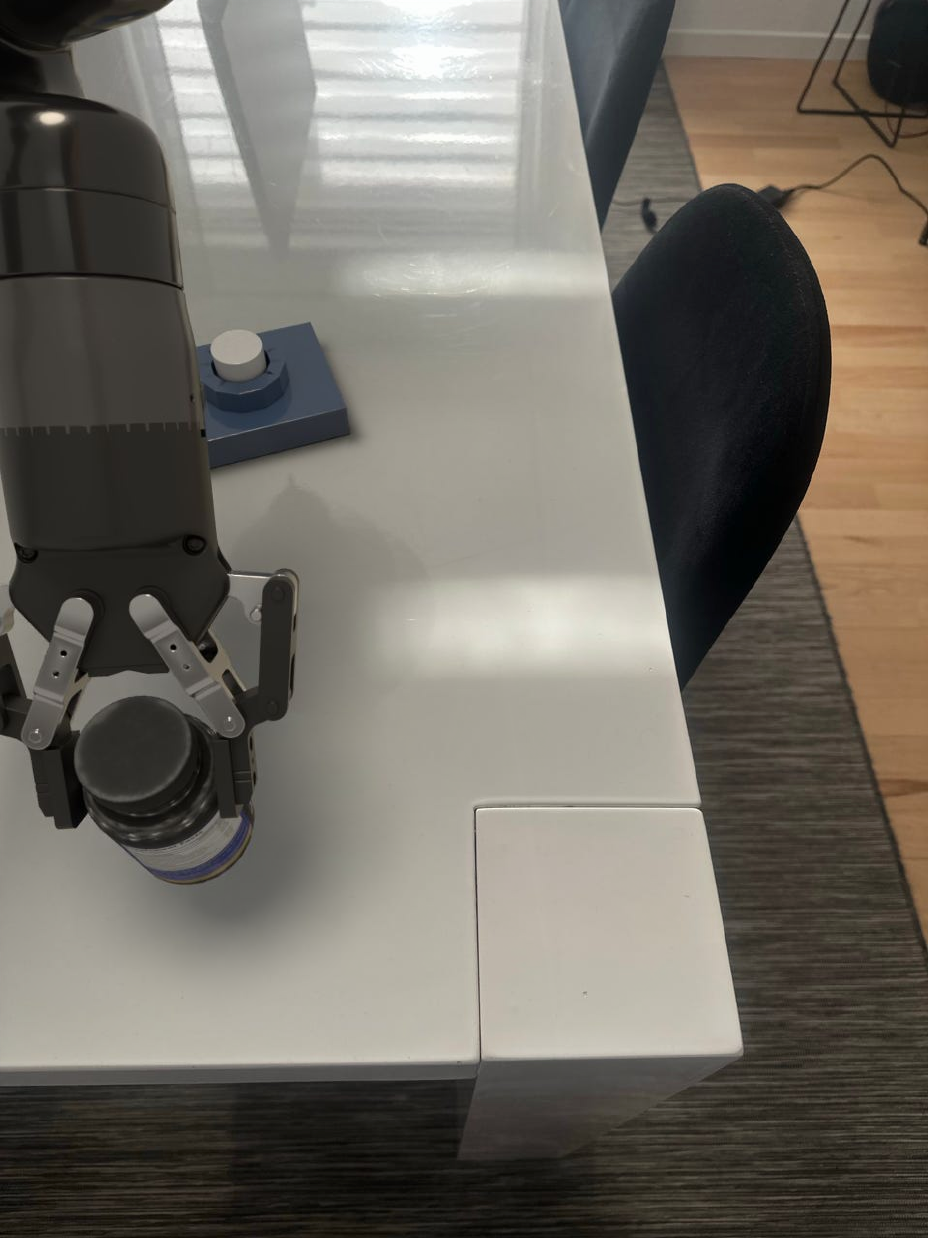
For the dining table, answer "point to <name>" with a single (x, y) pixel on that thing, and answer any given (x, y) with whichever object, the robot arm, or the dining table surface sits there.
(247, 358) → the white push button
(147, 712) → the pill bottle
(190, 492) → the robot arm
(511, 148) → the dining table surface
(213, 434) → the blue push button box
